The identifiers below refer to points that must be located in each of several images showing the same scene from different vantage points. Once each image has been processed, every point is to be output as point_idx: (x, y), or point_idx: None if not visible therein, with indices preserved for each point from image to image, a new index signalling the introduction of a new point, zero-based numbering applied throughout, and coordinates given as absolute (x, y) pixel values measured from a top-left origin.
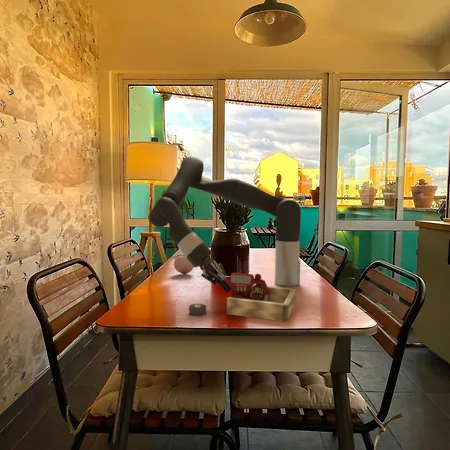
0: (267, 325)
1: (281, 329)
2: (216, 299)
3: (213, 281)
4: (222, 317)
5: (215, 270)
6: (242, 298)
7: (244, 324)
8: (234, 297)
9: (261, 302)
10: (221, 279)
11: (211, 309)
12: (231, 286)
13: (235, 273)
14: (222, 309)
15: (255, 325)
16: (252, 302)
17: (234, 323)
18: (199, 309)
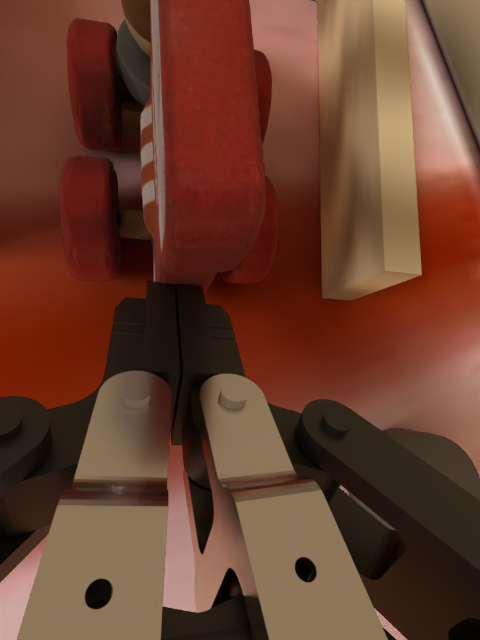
0: (416, 81)
1: (433, 27)
2: None
3: (337, 504)
4: (406, 311)
5: (357, 597)
6: (271, 183)
7: (445, 183)
8: (274, 249)
9: (405, 27)
10: (261, 404)
11: None
12: (214, 273)
13: (233, 124)
14: (281, 352)
15: (436, 133)
16: (404, 90)
17: (452, 231)
18: (467, 459)
